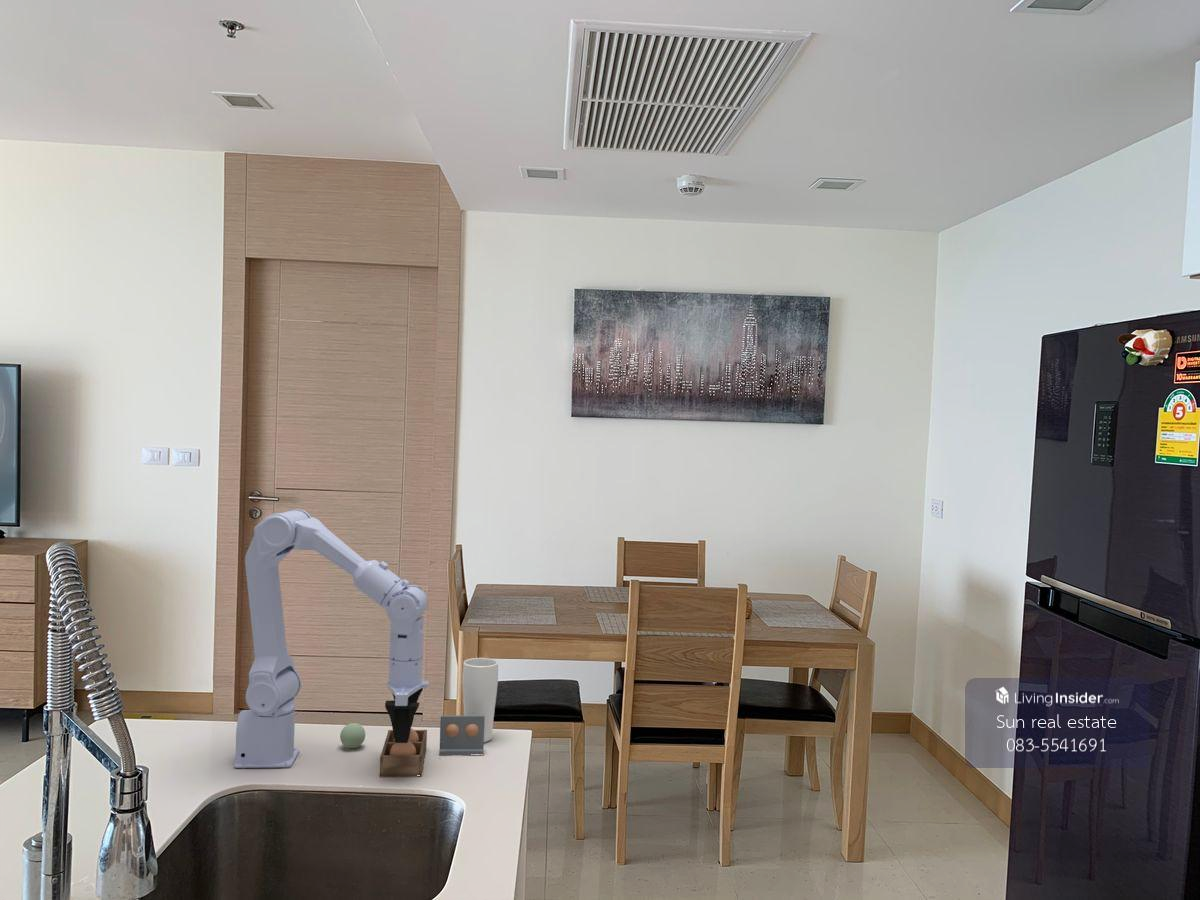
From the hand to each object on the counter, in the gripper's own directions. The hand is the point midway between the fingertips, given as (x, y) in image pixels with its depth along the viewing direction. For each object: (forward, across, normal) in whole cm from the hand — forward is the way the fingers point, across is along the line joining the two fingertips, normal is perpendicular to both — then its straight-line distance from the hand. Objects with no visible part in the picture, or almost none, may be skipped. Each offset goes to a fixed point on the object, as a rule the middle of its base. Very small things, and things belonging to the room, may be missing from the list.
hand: (403, 734), depth 159 cm
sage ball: (+4, +11, +10) cm, 15 cm away
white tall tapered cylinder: (+6, +15, -13) cm, 21 cm away
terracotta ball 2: (+3, 0, 0) cm, 3 cm away
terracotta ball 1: (+3, +6, 0) cm, 7 cm away
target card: (+6, +8, -10) cm, 14 cm away
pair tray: (+6, +3, 0) cm, 7 cm away
